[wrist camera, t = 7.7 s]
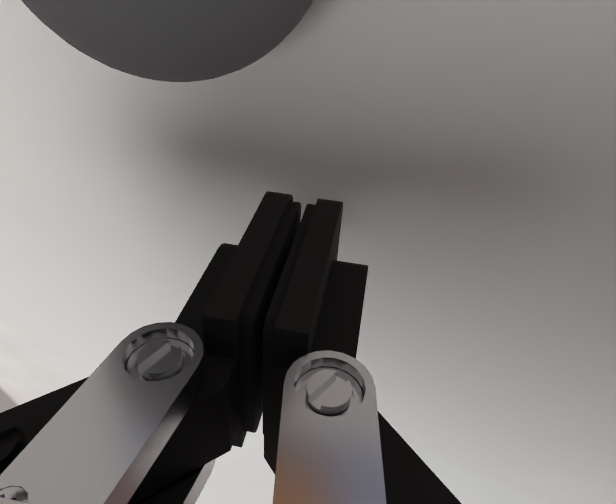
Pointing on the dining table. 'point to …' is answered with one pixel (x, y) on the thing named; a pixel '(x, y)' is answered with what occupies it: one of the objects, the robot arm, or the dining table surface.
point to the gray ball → (172, 33)
